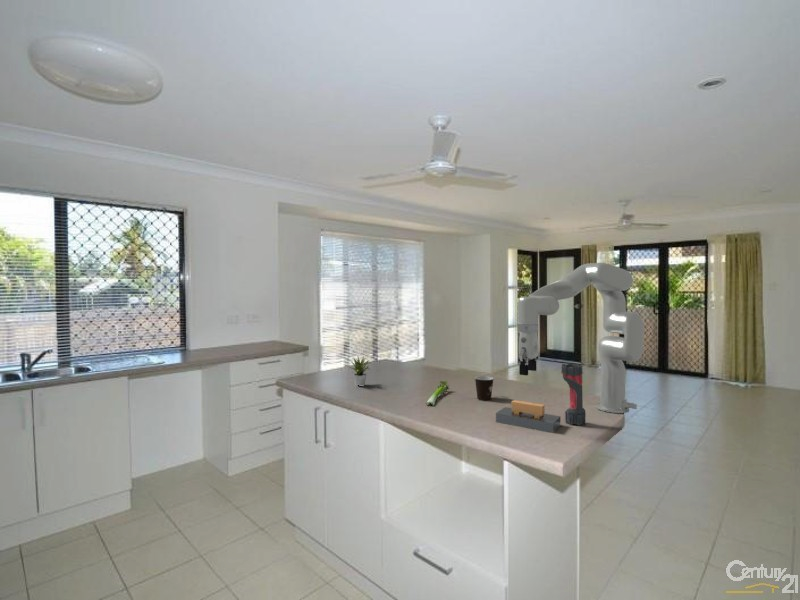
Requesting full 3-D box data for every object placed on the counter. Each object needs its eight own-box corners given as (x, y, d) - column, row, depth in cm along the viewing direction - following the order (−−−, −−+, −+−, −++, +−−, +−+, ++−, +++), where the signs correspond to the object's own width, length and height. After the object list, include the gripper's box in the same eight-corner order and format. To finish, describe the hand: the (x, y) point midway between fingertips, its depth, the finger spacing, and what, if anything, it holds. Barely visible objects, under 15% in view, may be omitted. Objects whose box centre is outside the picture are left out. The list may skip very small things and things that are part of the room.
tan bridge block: (544, 425, 160) (544, 404, 160) (541, 427, 158) (542, 406, 158) (514, 419, 167) (514, 399, 167) (511, 421, 165) (511, 401, 165)
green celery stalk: (422, 410, 189) (437, 389, 217) (437, 413, 186) (451, 391, 215) (423, 397, 188) (439, 377, 216) (438, 400, 185) (452, 380, 214)
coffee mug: (482, 402, 193) (482, 380, 192) (471, 397, 200) (471, 377, 200) (502, 399, 198) (502, 378, 198) (490, 394, 206) (490, 374, 205)
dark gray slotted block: (560, 425, 160) (560, 416, 160) (553, 432, 152) (553, 423, 152) (505, 415, 173) (505, 407, 173) (495, 421, 165) (495, 413, 165)
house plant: (372, 389, 218) (372, 358, 217) (346, 389, 218) (345, 358, 217) (374, 383, 232) (374, 353, 232) (349, 383, 232) (349, 354, 232)
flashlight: (556, 421, 165) (557, 363, 164) (571, 419, 168) (572, 362, 167) (572, 427, 157) (572, 367, 157) (587, 424, 161) (588, 365, 160)
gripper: (530, 331, 152) (530, 378, 153) (544, 327, 166) (544, 369, 167) (510, 330, 156) (510, 375, 157) (525, 326, 170) (525, 367, 171)
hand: (528, 372), depth 162 cm, fingers open, 9 cm apart
